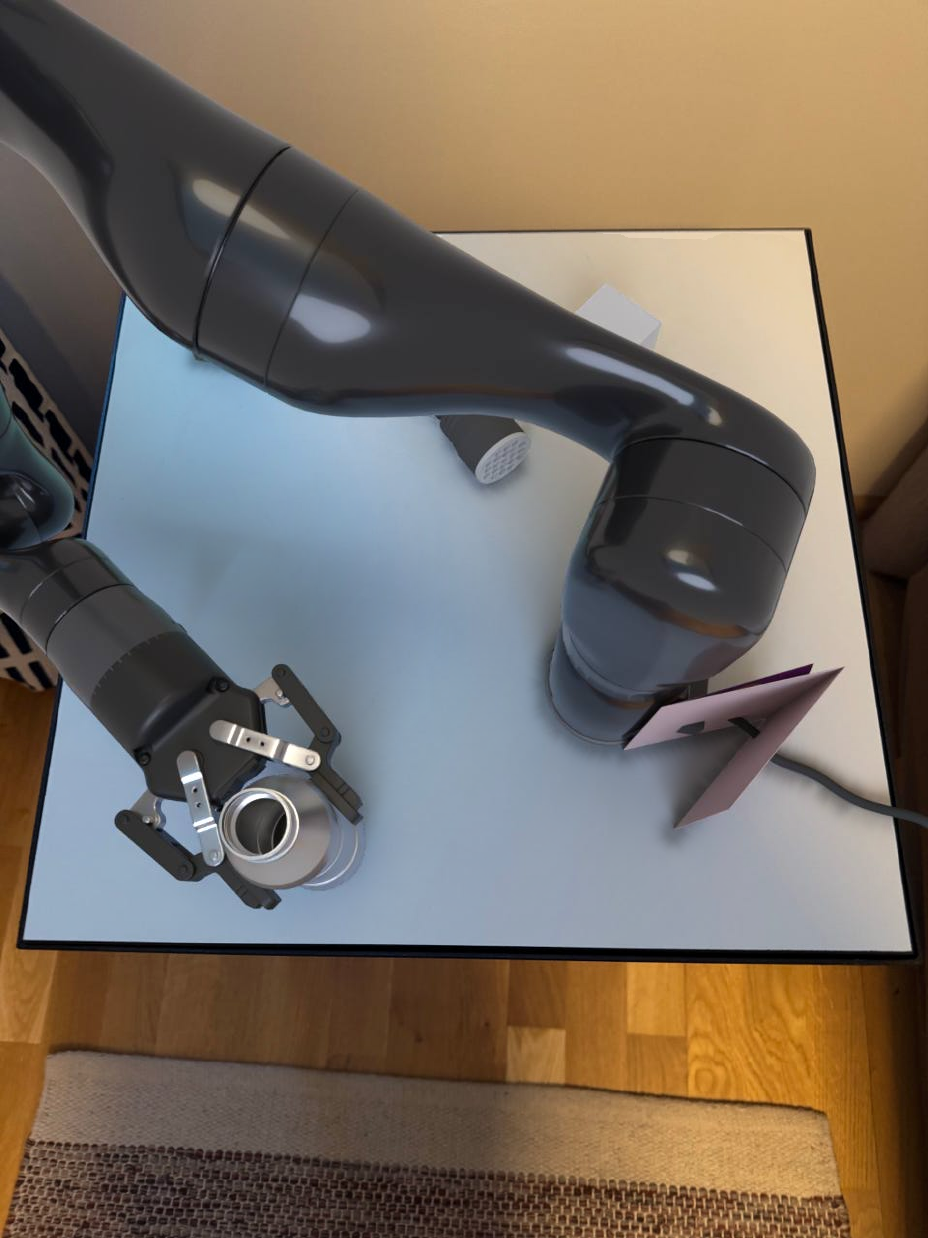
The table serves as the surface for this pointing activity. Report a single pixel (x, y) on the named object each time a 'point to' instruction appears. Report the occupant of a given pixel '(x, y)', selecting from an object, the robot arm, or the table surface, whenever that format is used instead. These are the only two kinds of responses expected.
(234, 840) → the silver metal bottle
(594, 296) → the white cube
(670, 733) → the greeting card
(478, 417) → the flashlight
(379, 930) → the table surface
